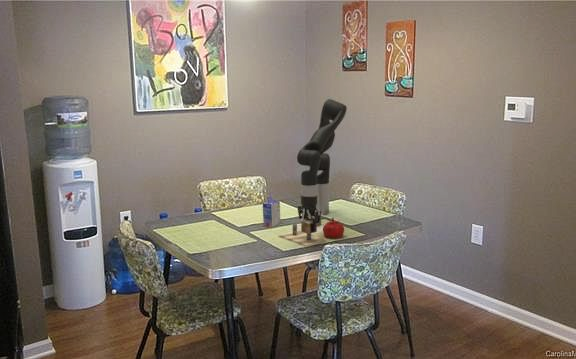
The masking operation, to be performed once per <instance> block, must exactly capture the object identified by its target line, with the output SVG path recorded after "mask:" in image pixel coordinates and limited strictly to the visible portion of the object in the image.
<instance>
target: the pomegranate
mask: <svg viewBox="0 0 576 359" xmlns="http://www.w3.org/2000/svg"><path fill="white" fill-rule="evenodd" d="M344 233H345V226H344V225H343V223H341V222H340V221H338V220H336V221H335V218H333V217H331V220H328V221H327V222H326V223H325V224H324V227H323V232H322V234H323V236H324V237H325V238H328V239H340V238H342V236H343V235H344Z"/></svg>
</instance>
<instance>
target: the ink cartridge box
mask: <svg viewBox="0 0 576 359" xmlns="http://www.w3.org/2000/svg"><path fill="white" fill-rule="evenodd" d="M266 198H267V201H266V202H263V203H262V214H263V215H262V216H263V221H262V222H263V227H269V228H272V227H276V226H277V225H279V224H280V223H281V202H280V199H272V196H268V197H266Z"/></svg>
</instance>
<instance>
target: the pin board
mask: <svg viewBox="0 0 576 359" xmlns="http://www.w3.org/2000/svg"><path fill="white" fill-rule="evenodd" d="M297 226H298V225H297V223H292V231H287V232H284V233H280V234H277V235H278V238H280V239H281V238H282V239H283V240H287V241H290V242H292V243H295V244H297V245H300V246H304V247H306V248H307V247H310V246H314V245H317V244H321V243H325V242H327V239H325V238H322V237H320V236H317V235H315V234H311V233H310V234H307V233H304V232H301V230H299V229H297Z"/></svg>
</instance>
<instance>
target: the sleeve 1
mask: <svg viewBox="0 0 576 359" xmlns="http://www.w3.org/2000/svg"><path fill="white" fill-rule="evenodd" d="M313 221H314V219H313ZM300 222H301V223H300V225H301V230H300V231H301V232H304V233H307V234H310V233H314V232H311V220H310V219H309V217H308V218H303V219H300ZM315 232H317V223H316V231H315Z"/></svg>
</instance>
